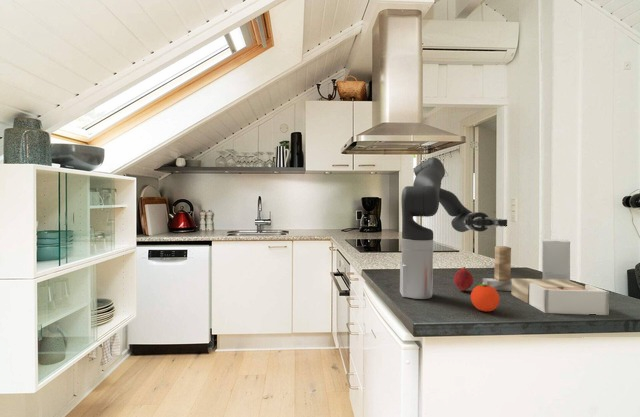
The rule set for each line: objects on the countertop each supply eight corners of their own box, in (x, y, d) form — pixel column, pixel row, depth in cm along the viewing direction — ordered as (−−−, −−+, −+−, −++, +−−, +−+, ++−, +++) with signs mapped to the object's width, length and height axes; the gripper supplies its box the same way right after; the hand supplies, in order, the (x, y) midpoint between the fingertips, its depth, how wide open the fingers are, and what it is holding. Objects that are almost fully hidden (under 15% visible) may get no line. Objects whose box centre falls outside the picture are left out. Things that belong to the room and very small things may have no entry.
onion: (474, 294, 109) (475, 268, 109) (455, 293, 111) (455, 267, 110) (470, 289, 115) (471, 265, 115) (452, 288, 116) (452, 264, 116)
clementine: (463, 306, 97) (464, 280, 97) (487, 305, 97) (488, 280, 97) (478, 315, 89) (479, 287, 89) (505, 315, 89) (505, 287, 89)
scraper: (487, 290, 115) (488, 247, 115) (482, 287, 119) (483, 245, 119) (522, 291, 114) (523, 248, 114) (516, 288, 118) (517, 246, 118)
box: (544, 312, 91) (545, 289, 91) (529, 303, 99) (529, 282, 99) (608, 315, 90) (609, 291, 90) (587, 305, 98) (588, 284, 98)
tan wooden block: (527, 303, 100) (528, 286, 100) (511, 294, 110) (511, 278, 110) (587, 305, 98) (587, 287, 98) (565, 295, 108) (565, 279, 108)
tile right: (563, 303, 98) (569, 306, 95) (563, 287, 98) (570, 289, 95) (580, 303, 98) (587, 307, 95) (580, 287, 98) (587, 290, 95)
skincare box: (569, 283, 126) (570, 239, 126) (570, 286, 121) (571, 241, 120) (541, 280, 131) (542, 238, 130) (541, 283, 125) (542, 239, 125)
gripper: (458, 211, 142) (472, 211, 126) (495, 212, 140) (513, 212, 124) (457, 230, 142) (471, 233, 126) (494, 231, 140) (513, 234, 124)
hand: (492, 222), depth 125 cm, fingers open, 8 cm apart
